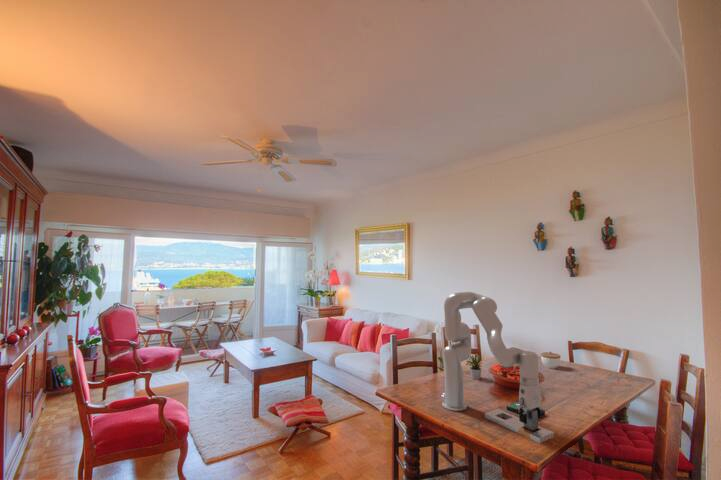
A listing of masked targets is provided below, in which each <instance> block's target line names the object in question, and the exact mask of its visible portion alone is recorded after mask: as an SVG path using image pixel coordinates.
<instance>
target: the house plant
mask: <svg viewBox="0 0 721 480" xmlns="http://www.w3.org/2000/svg"><path fill="white" fill-rule="evenodd" d="M483 359H484V357H482V358H481V356H480V354H478V353H477V352H476V353H475V354H474V355H473V354H471V355H470V357H469V360H466V361H465V362H466V363H467V366H468V367H469V370H470V376H471V379H472V380H480V379H481V374H482V373H481V372H482V368H481V367H482V365H481V361H482V360H483ZM470 366H471V367H470Z"/></svg>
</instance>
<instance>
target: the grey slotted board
mask: <svg viewBox="0 0 721 480" xmlns="http://www.w3.org/2000/svg"><path fill="white" fill-rule="evenodd" d="M484 418H485V419H487V420H489V421H492V422H494V423H496V424H498V425H499V426H502V427H504V428H506V429H509V430H510V431H512V432H515V433H518V434H519V435H521V436H524V437H526V438H528V439H530V440H531V441H535V442H537V443H538V444H542V443H543V442H546V441H548V439H549V440H550V439H553V438H555V435H554V432H553V431H551V430H549V429H546V428H545V427H542V426H539V425H538V431H536V432H534V433H533V432H531V431H528V430H526V429H524V423H523V422H520V420H519V417H518V416H516V415H515V414H514V415H513V414H511V413H510V412H506V411H504V410H502V409H500V408H497V409H494V410H490V411H487V412H484Z"/></svg>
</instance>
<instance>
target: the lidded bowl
mask: <svg viewBox="0 0 721 480" xmlns="http://www.w3.org/2000/svg"><path fill="white" fill-rule="evenodd" d="M540 358H541V363H542V364H543V366H545V368H546V369H550V370H551V369H557V368H558V367H559V366H560V364H561V355H560V354H558V353H554V352H552V351H549V352H541V353H540Z"/></svg>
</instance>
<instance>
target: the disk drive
mask: <svg viewBox="0 0 721 480" xmlns="http://www.w3.org/2000/svg"><path fill="white" fill-rule="evenodd" d="M517 402H518V401H514V402H512V403H510V404H507V405H506V409H505V410H506V411H509V413H513V414H516V415H519V412H518V410H517V406H516V404H517ZM522 409H525V408H522ZM545 415H546V410H544V409H540V419H541V418H542V417H544V416H545Z"/></svg>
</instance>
